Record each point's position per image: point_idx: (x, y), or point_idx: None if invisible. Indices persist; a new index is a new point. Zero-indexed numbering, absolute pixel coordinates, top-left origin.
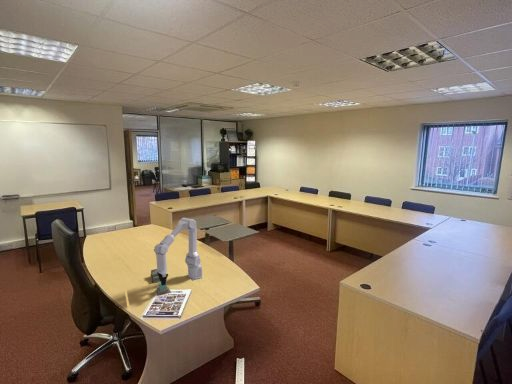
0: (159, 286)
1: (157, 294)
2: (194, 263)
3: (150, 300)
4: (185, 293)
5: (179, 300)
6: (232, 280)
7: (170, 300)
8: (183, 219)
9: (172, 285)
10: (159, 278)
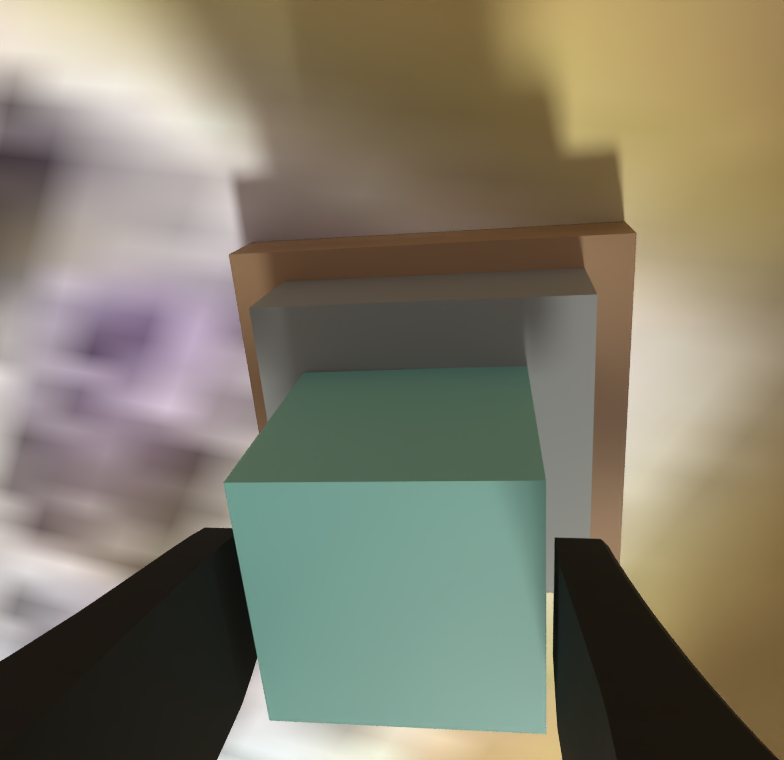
0: (358, 415)
1: (304, 255)
2: None
3: (172, 24)
4: (229, 752)
5: (6, 609)
6: None
7: (44, 475)
8: None
9: (741, 663)
10: (583, 655)
